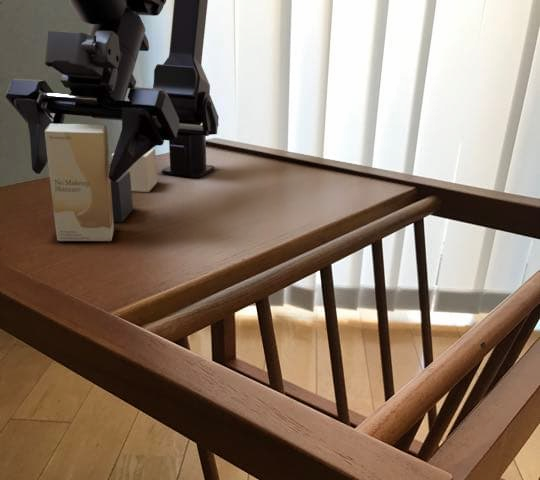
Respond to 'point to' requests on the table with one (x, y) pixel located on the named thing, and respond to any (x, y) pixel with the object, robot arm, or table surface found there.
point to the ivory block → (143, 172)
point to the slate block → (121, 197)
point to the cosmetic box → (80, 181)
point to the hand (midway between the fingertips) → (73, 175)
